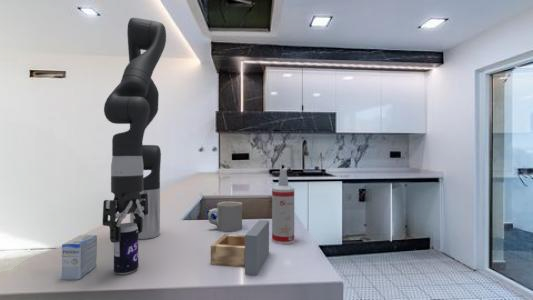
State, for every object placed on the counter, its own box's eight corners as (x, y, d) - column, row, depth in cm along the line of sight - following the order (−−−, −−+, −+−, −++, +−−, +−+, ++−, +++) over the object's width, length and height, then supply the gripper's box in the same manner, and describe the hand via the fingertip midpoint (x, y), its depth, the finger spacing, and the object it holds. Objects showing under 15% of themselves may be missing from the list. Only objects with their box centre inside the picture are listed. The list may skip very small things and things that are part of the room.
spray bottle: (282, 236, 104) (282, 167, 104) (298, 240, 99) (298, 168, 99) (267, 241, 98) (267, 168, 98) (283, 246, 93) (283, 169, 93)
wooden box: (210, 264, 78) (210, 245, 78) (224, 250, 88) (224, 234, 89) (249, 267, 76) (249, 248, 76) (259, 252, 86) (259, 236, 86)
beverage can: (128, 277, 70) (128, 228, 70) (108, 275, 71) (108, 227, 71) (143, 268, 75) (143, 222, 76) (124, 266, 77) (124, 221, 77)
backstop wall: (245, 275, 71) (245, 235, 71) (259, 252, 87) (259, 220, 87) (256, 276, 71) (256, 235, 71) (269, 253, 86) (269, 220, 86)
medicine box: (79, 267, 76) (79, 234, 76) (97, 266, 77) (97, 234, 77) (61, 280, 68) (61, 244, 68) (80, 279, 69) (80, 243, 69)
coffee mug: (241, 225, 120) (241, 201, 120) (242, 231, 110) (242, 205, 110) (209, 226, 118) (209, 201, 118) (207, 232, 108) (207, 206, 108)
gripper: (121, 175, 66) (121, 246, 65) (156, 172, 80) (156, 230, 79) (93, 175, 67) (92, 244, 67) (132, 172, 81) (132, 229, 81)
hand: (127, 237), depth 73 cm, fingers open, 8 cm apart
